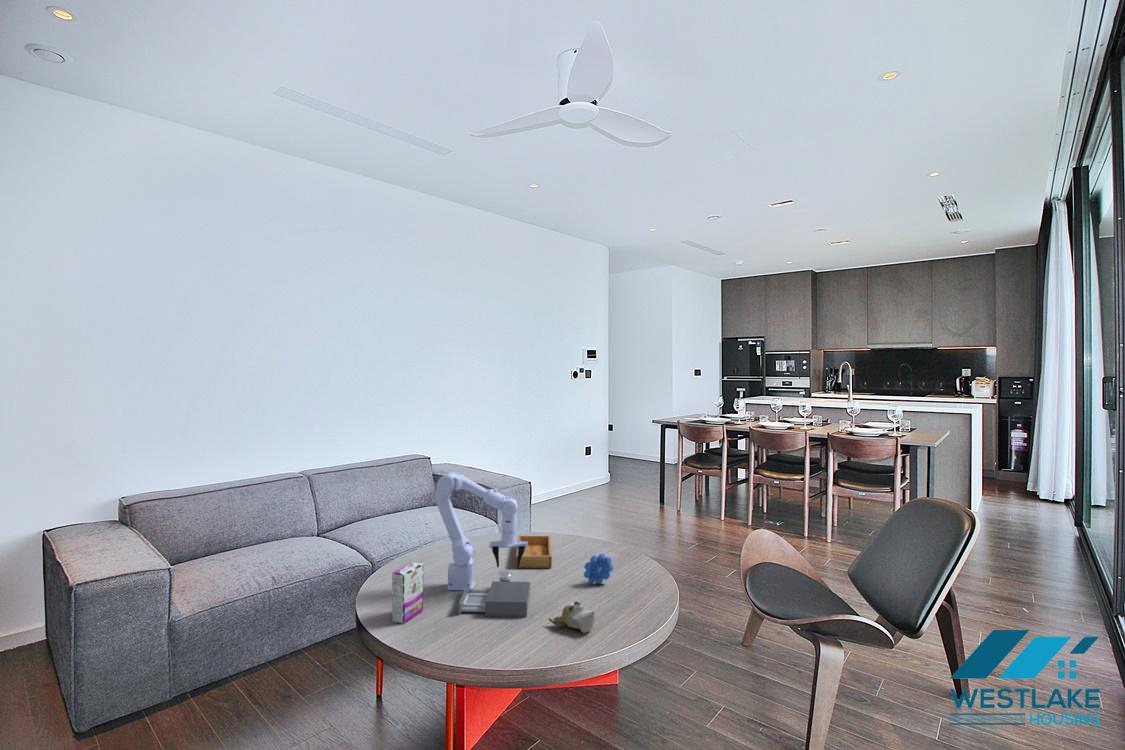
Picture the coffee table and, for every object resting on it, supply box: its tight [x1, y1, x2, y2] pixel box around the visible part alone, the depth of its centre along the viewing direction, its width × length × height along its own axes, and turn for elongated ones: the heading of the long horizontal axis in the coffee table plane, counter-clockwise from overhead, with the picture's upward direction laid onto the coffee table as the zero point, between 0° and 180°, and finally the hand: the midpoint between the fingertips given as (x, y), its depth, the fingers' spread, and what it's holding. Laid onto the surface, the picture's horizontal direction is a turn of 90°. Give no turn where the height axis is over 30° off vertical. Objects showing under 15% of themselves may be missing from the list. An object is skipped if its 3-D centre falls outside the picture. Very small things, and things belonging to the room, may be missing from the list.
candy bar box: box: [391, 561, 424, 625], centre depth 183 cm, size 11×5×16 cm, turn 160°
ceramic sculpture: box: [548, 601, 596, 634], centre depth 177 cm, size 11×9×15 cm
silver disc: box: [497, 570, 513, 581], centre depth 208 cm, size 5×5×2 cm
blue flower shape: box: [583, 553, 614, 585], centre depth 215 cm, size 12×7×12 cm, turn 94°
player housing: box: [484, 580, 531, 618], centre depth 193 cm, size 14×18×5 cm
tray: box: [515, 535, 553, 569], centre depth 245 cm, size 31×15×6 cm, turn 2°
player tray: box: [457, 584, 489, 614], centre depth 193 cm, size 13×17×3 cm
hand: (508, 566), depth 208 cm, fingers open, 7 cm apart
